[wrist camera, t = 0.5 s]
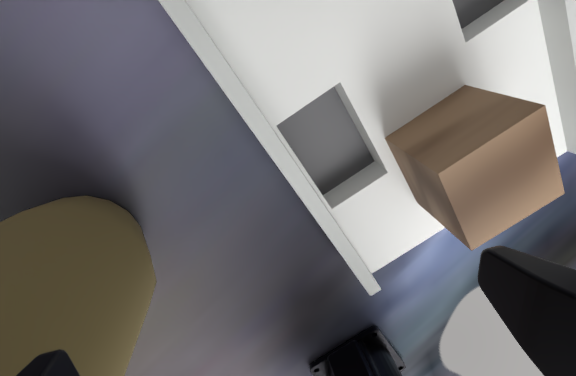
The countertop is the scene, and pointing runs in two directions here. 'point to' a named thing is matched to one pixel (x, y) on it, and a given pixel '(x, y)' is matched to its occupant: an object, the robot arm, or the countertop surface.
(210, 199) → the countertop surface
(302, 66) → the board
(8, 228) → the squeeze bottle
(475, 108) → the block
